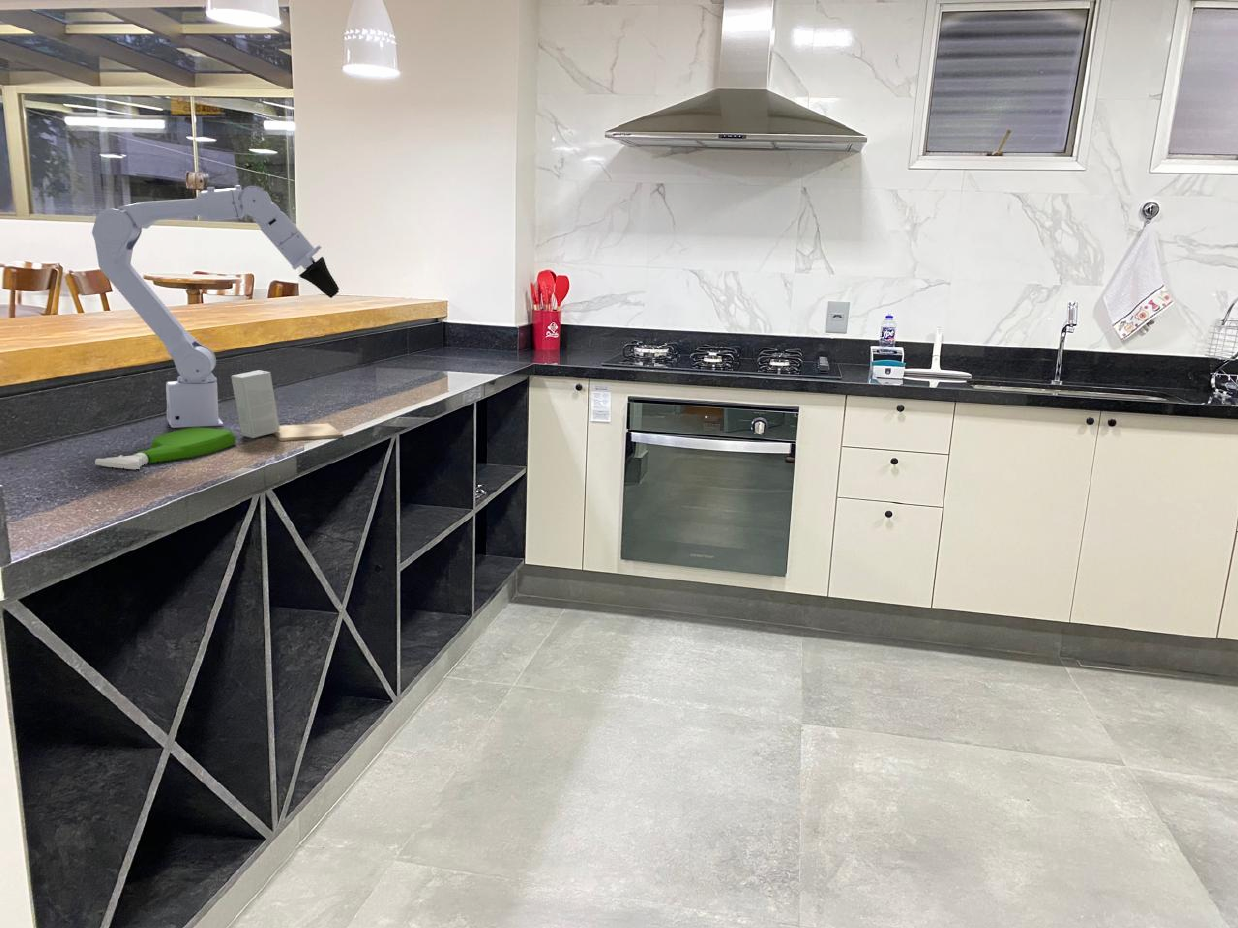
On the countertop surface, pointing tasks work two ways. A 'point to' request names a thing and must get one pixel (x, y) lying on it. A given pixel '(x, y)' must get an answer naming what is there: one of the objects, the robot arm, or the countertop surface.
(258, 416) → the skincare box
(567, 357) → the countertop surface
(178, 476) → the countertop surface
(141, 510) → the countertop surface
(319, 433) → the cork mat
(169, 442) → the spray bottle
